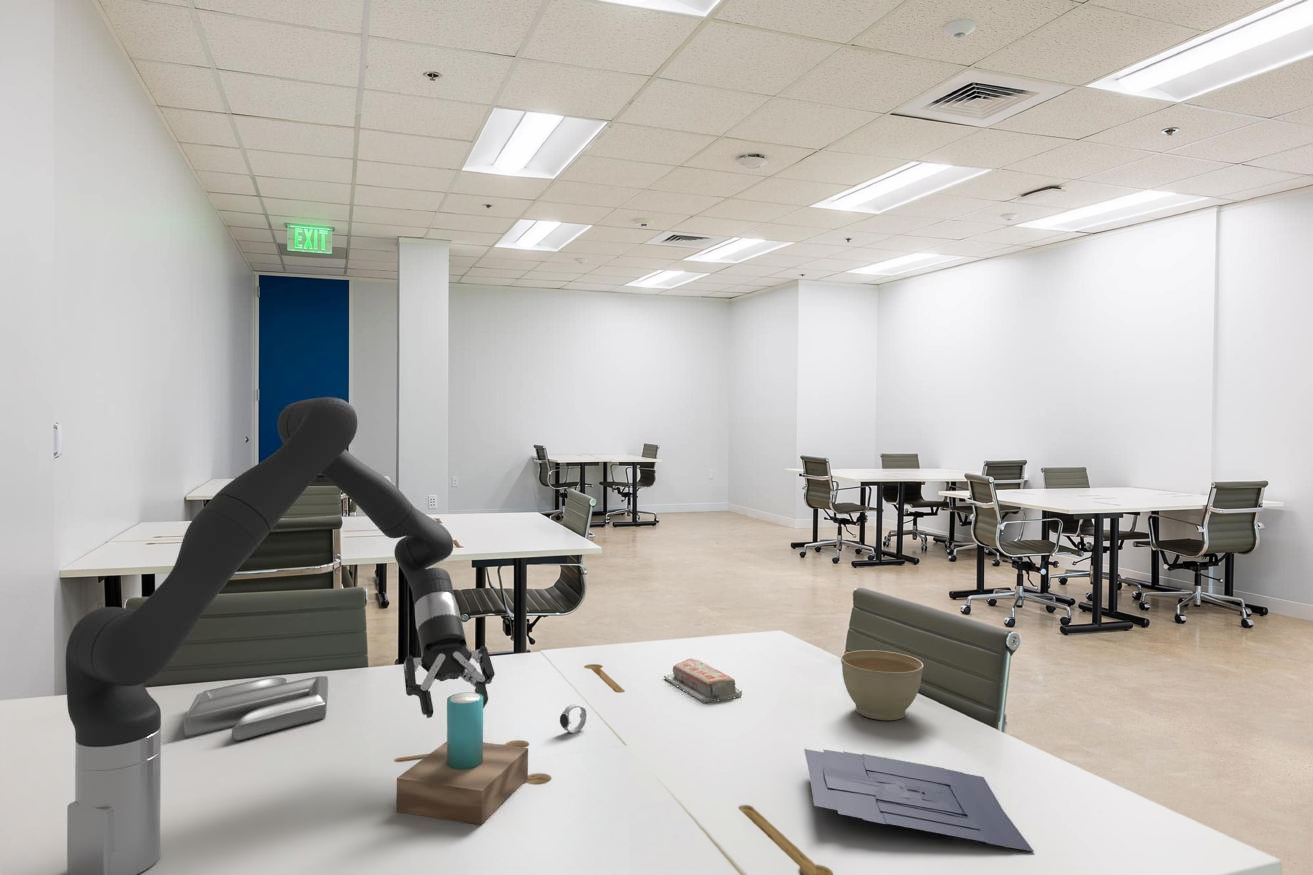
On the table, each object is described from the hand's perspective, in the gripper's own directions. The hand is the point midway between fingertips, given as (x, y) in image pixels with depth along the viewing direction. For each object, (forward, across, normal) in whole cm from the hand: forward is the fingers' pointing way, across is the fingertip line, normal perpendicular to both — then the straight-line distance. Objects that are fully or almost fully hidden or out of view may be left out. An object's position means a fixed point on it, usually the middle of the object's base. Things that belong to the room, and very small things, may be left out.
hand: (457, 711), depth 130 cm
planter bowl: (+15, +85, +2) cm, 86 cm away
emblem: (-25, -26, +42) cm, 55 cm away
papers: (+37, +59, -20) cm, 72 cm away
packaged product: (-6, +61, +23) cm, 65 cm away
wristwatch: (+1, +25, +16) cm, 30 cm away
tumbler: (+8, 0, +1) cm, 8 cm away
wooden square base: (+12, 0, +4) cm, 13 cm away
